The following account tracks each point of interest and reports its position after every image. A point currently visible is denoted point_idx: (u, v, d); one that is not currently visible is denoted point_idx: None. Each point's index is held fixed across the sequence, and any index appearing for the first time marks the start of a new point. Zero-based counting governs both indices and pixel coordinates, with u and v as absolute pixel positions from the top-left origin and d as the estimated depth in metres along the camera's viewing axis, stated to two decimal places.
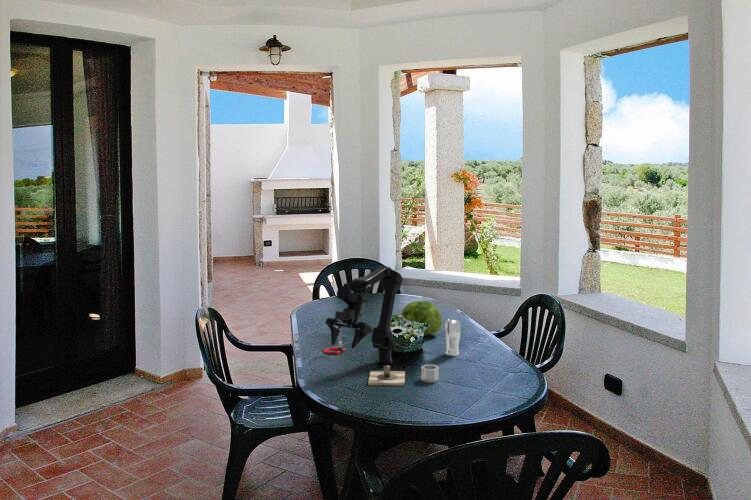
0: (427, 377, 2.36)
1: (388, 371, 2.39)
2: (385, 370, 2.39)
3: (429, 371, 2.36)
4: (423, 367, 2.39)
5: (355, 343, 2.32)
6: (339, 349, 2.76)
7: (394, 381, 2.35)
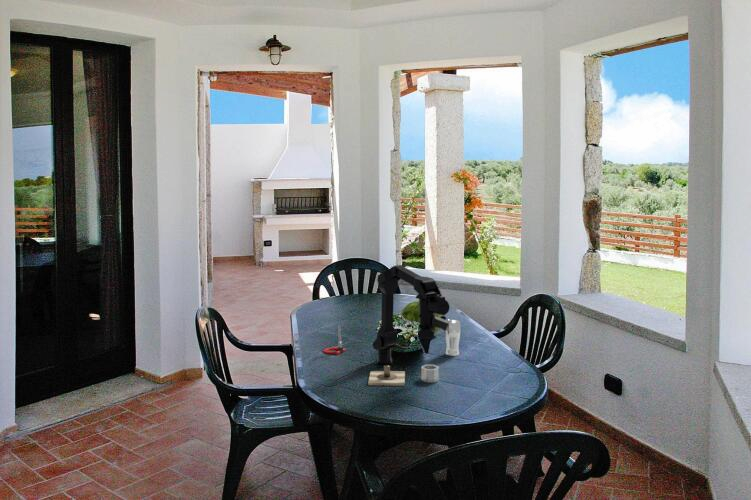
0: (427, 377, 2.36)
1: (388, 371, 2.39)
2: (385, 370, 2.39)
3: (429, 371, 2.36)
4: (423, 367, 2.39)
5: None
6: (339, 349, 2.76)
7: (394, 381, 2.35)
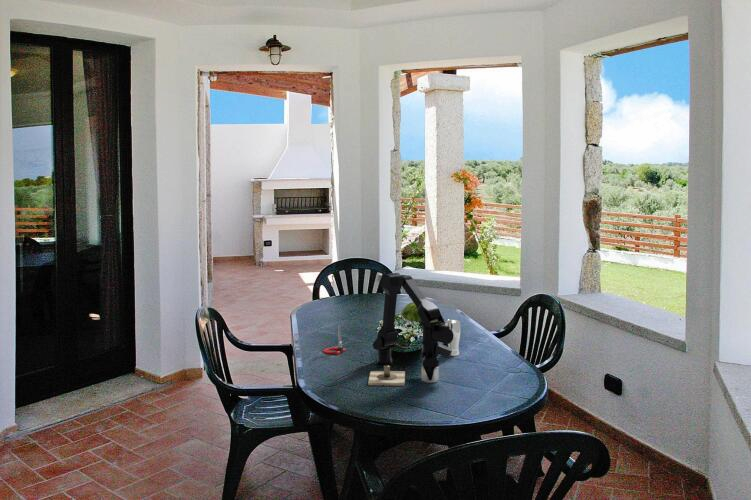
0: (427, 377, 2.36)
1: (388, 371, 2.39)
2: (385, 370, 2.39)
3: None
4: (423, 367, 2.39)
5: None
6: (339, 349, 2.76)
7: (394, 381, 2.35)
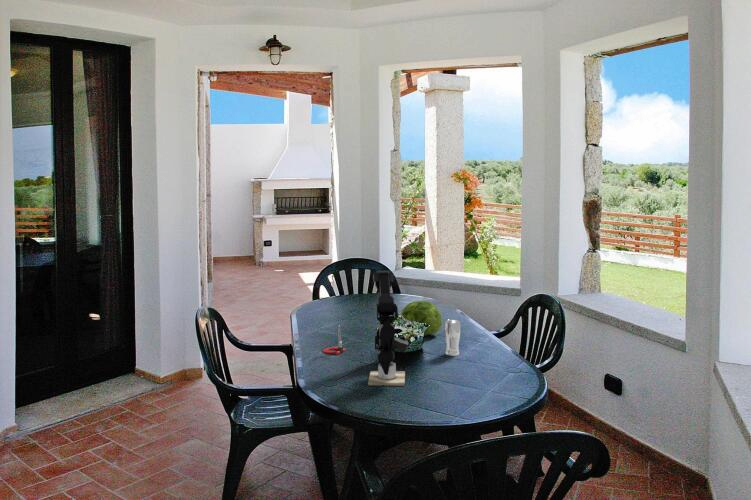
0: (383, 374, 2.37)
1: None
2: None
3: None
4: None
5: None
6: (339, 349, 2.76)
7: (394, 381, 2.35)
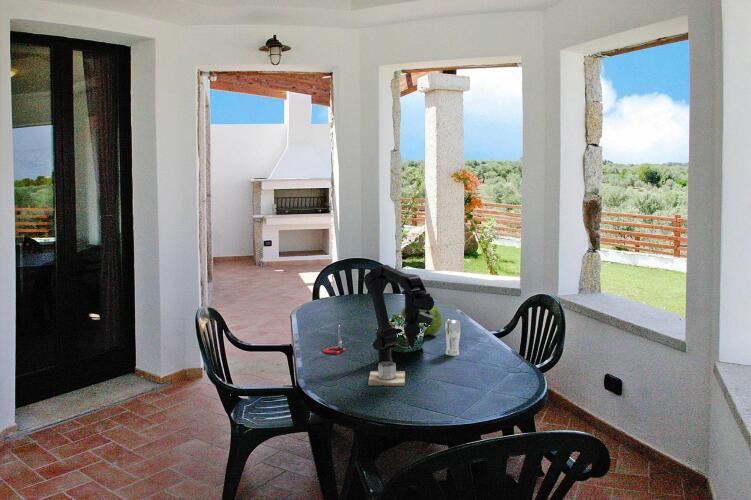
0: (383, 374, 2.37)
1: None
2: None
3: (385, 368, 2.37)
4: (380, 364, 2.40)
5: None
6: (339, 349, 2.76)
7: (394, 381, 2.35)
